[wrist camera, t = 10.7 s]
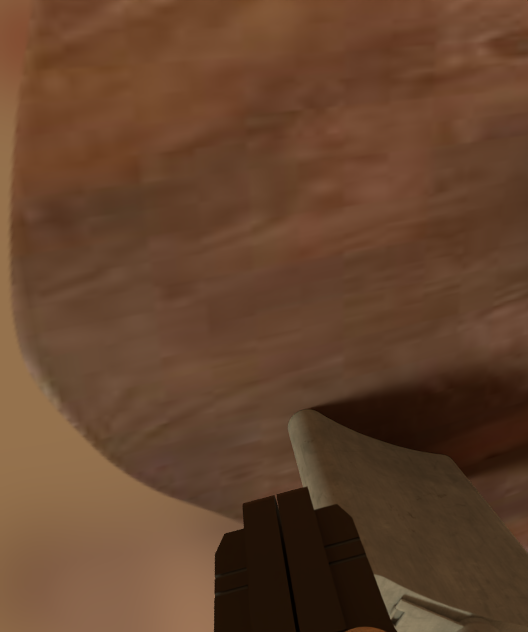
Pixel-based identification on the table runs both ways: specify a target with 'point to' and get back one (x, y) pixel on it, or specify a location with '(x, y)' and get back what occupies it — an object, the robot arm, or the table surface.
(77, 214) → the table surface
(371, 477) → the hip flask
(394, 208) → the table surface
